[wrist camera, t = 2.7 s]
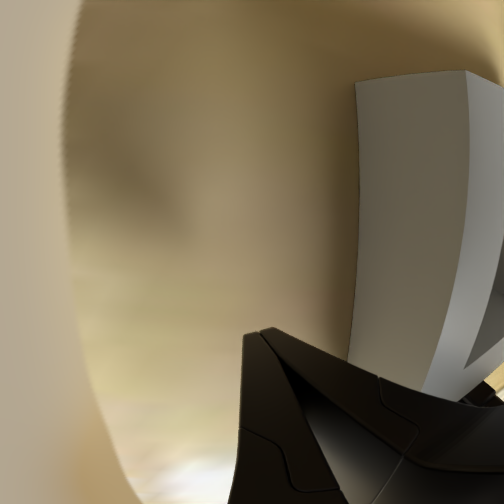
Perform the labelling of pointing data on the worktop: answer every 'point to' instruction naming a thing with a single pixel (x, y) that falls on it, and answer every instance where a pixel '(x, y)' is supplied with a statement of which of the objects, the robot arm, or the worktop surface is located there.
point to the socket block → (430, 231)
